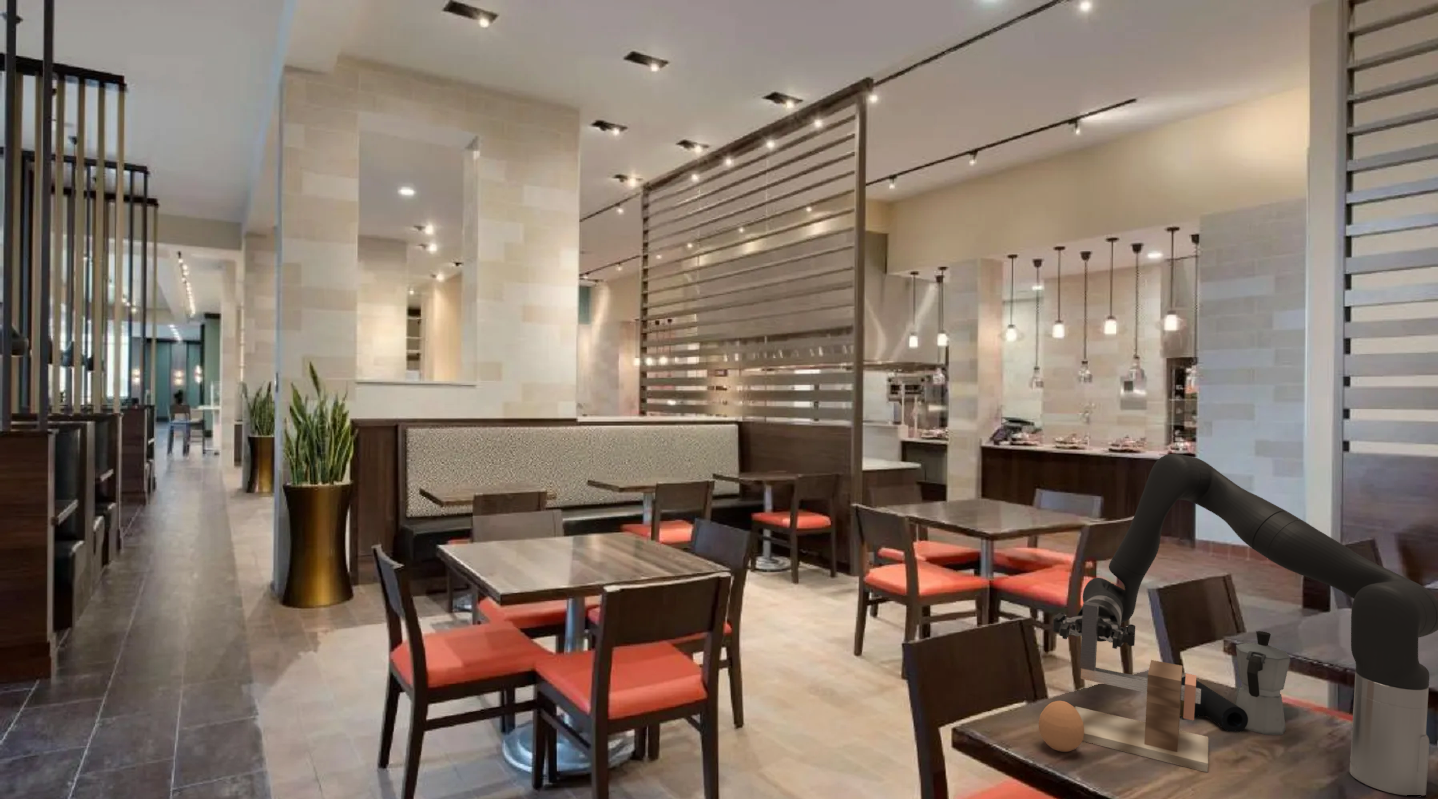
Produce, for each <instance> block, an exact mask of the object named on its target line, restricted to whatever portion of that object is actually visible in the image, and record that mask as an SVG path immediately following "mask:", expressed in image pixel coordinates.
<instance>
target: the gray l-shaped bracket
mask: <svg viewBox="0 0 1438 799" xmlns="http://www.w3.org/2000/svg"><path fill="white" fill-rule="evenodd" d="M1082 606H1083V615H1082V636H1080V637H1081V638H1080V639H1081V640H1080V656H1079V657H1080V659H1079V660H1080V661H1079V662H1080V664H1079V669H1080V679H1081V680H1084V681H1085V680H1086V681H1091V682H1094V683H1099V684H1104V685H1108V686H1114V687H1118V688H1122V689H1129V690H1131V691H1137V692H1140V693H1141V692H1142V693H1145V694H1147V682H1148V677H1144V676H1138V675H1134V674H1130V673H1124V672H1119V671H1114V670H1109V669H1105V668H1100V667H1097V648H1098V641H1097V631H1098V611H1099V604H1098V603H1092V602H1086V601H1085V602H1084V603H1082ZM1184 694H1185V686H1184V685H1181V695H1180V700H1184ZM1200 701H1201V689H1199V688H1196V693H1195V703H1198V704H1200Z"/></svg>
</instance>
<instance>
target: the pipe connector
mask: <svg viewBox="0 0 1438 799" xmlns="http://www.w3.org/2000/svg"><path fill="white" fill-rule="evenodd" d="M1185 678H1186V676H1182V685H1184V686H1185ZM1196 688H1199V689H1201V701H1200V704H1198V703H1195V712H1194V717H1204V718H1205V717H1207V718H1208V719H1209V720H1211V721H1212V722H1213V723H1215V724H1216V725H1218V726H1220V727H1221V728H1223V730H1225V731H1227V732H1229V733H1230V732H1233V733H1241V732H1242V731H1243V730H1246V729H1245V727H1246V726H1247V723H1248V716H1247V714H1246V712H1245V711H1244V710H1243V709H1242V708H1240V707H1238V706H1237V705H1236V703H1234V702H1232V701H1230V700H1229V699H1227V698H1226V697H1225V696H1222V695H1221V694H1219V693H1218V692H1217V691H1215V690H1213V689H1212V688H1209V686H1207V685H1206V684H1204V683H1202V682H1200V681H1199V680H1197V679H1196ZM1183 713H1184V700H1181V704H1180V717H1183Z"/></svg>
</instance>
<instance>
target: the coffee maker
mask: <svg viewBox="0 0 1438 799" xmlns="http://www.w3.org/2000/svg"><path fill="white" fill-rule="evenodd" d="M1255 632H1256V633H1255V634H1256V640H1257V642H1255V643H1254V642H1247V643H1246V642H1245V643H1238V644H1235V651H1236V660H1237V671H1238V672H1237V673H1238V678H1239V680H1240V681H1241V685H1240V687H1239V690H1238V693H1237V697H1236V701H1235V702H1236V703H1235V705H1237V706H1238V707H1240V708H1242V709H1243V710H1244V711H1245V712H1246V714H1247V716H1248V723H1247V726H1246V727H1245V729H1244V730H1248V731H1251V732H1255V733H1259V734H1261V735H1271V736H1274V735H1275V736H1283V735H1284V733H1285V731H1286V721H1285V714H1284V704H1283V696H1282V694H1281V691H1282V690H1284V688H1285V684H1286V679H1287V676H1288V675H1287V674H1288V671H1289V666H1290V662H1291V656H1290V655H1289V654H1288V653H1287V652H1286V651H1284V650H1282V649H1280V648H1277V647H1274V646H1272V645H1269V643H1270V642H1269V641H1270V639H1271V636H1272V635H1271V633H1270V632H1267V631H1264V630H1263V631H1261V630H1257V631H1256V630H1255Z"/></svg>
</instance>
